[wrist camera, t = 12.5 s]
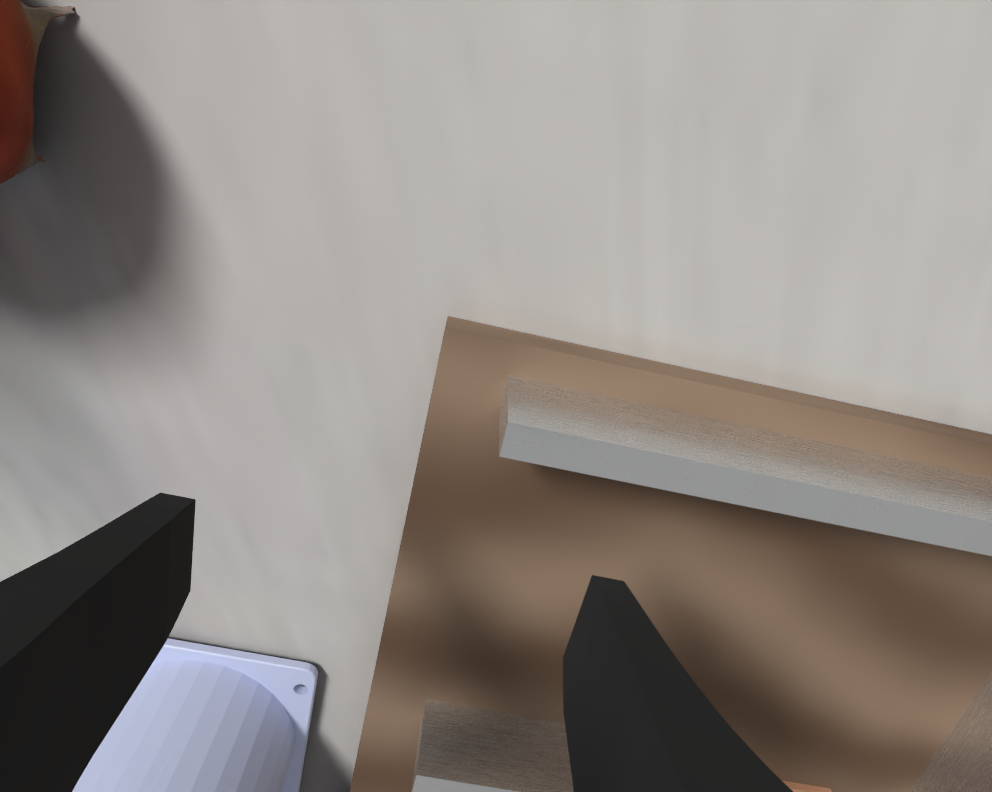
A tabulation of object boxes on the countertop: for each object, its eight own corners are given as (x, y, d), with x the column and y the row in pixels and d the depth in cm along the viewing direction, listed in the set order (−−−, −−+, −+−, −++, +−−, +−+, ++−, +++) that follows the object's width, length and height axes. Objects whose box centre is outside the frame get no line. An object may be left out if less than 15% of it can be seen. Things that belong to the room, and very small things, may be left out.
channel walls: (850, 911, 30) (884, 994, 28) (390, 840, 29) (378, 921, 26) (1138, 509, 22) (1230, 571, 19) (507, 374, 20) (508, 421, 17)
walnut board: (852, 918, 32) (862, 942, 31) (340, 839, 30) (335, 863, 29) (1174, 474, 22) (1202, 491, 21) (448, 316, 20) (445, 327, 20)
